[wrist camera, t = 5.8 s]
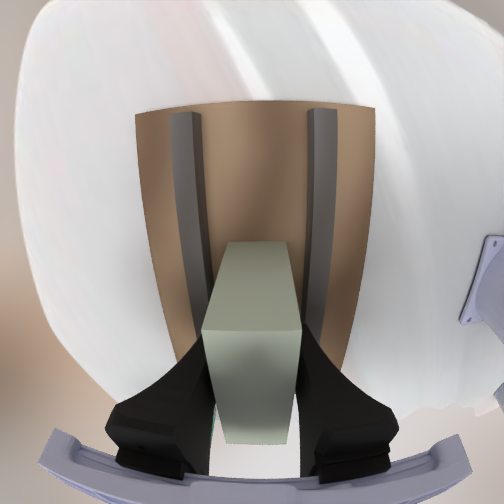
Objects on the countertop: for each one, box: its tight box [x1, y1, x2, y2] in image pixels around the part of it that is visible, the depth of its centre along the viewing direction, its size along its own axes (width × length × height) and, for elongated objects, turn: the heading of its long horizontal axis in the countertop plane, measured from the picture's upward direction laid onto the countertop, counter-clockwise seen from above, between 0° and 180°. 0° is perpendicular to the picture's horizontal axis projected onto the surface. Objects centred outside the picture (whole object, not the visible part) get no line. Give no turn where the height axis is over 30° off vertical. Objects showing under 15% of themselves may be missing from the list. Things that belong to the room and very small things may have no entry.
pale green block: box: [201, 241, 302, 445], centre depth 13 cm, size 3×8×7 cm, turn 1°
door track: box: [135, 101, 375, 394], centre depth 15 cm, size 12×18×3 cm, turn 2°
